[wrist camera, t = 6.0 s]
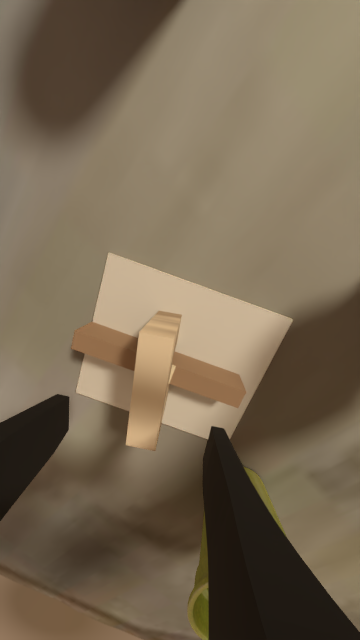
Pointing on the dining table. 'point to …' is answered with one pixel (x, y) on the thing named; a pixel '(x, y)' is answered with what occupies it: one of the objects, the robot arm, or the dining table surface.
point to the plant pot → (199, 594)
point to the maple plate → (152, 379)
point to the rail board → (178, 346)
